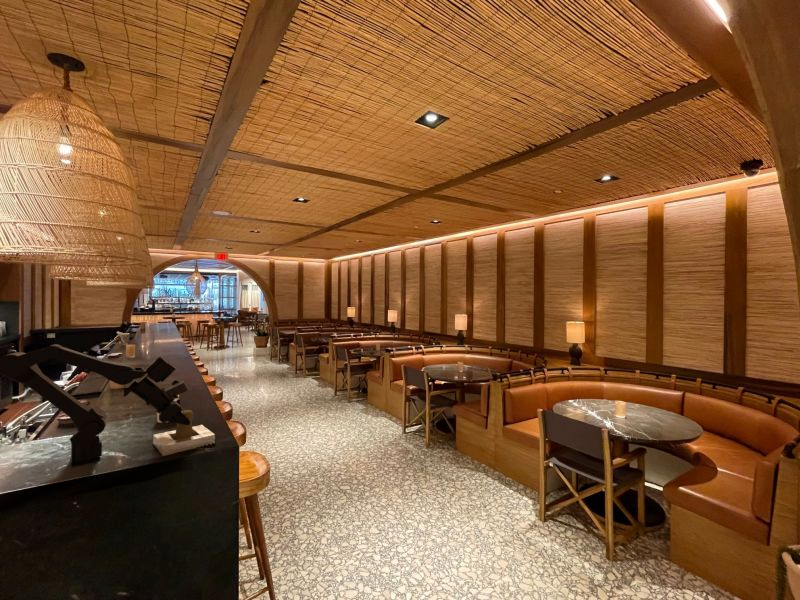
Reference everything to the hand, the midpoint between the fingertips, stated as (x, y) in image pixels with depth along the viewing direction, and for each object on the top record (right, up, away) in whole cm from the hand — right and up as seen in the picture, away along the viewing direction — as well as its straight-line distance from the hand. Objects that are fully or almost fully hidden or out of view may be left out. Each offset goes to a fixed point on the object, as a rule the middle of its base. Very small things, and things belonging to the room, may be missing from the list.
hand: (189, 421), depth 123 cm
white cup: (-23, -8, +24) cm, 34 cm away
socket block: (-1, -7, -1) cm, 7 cm away
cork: (-1, -7, -1) cm, 7 cm away
